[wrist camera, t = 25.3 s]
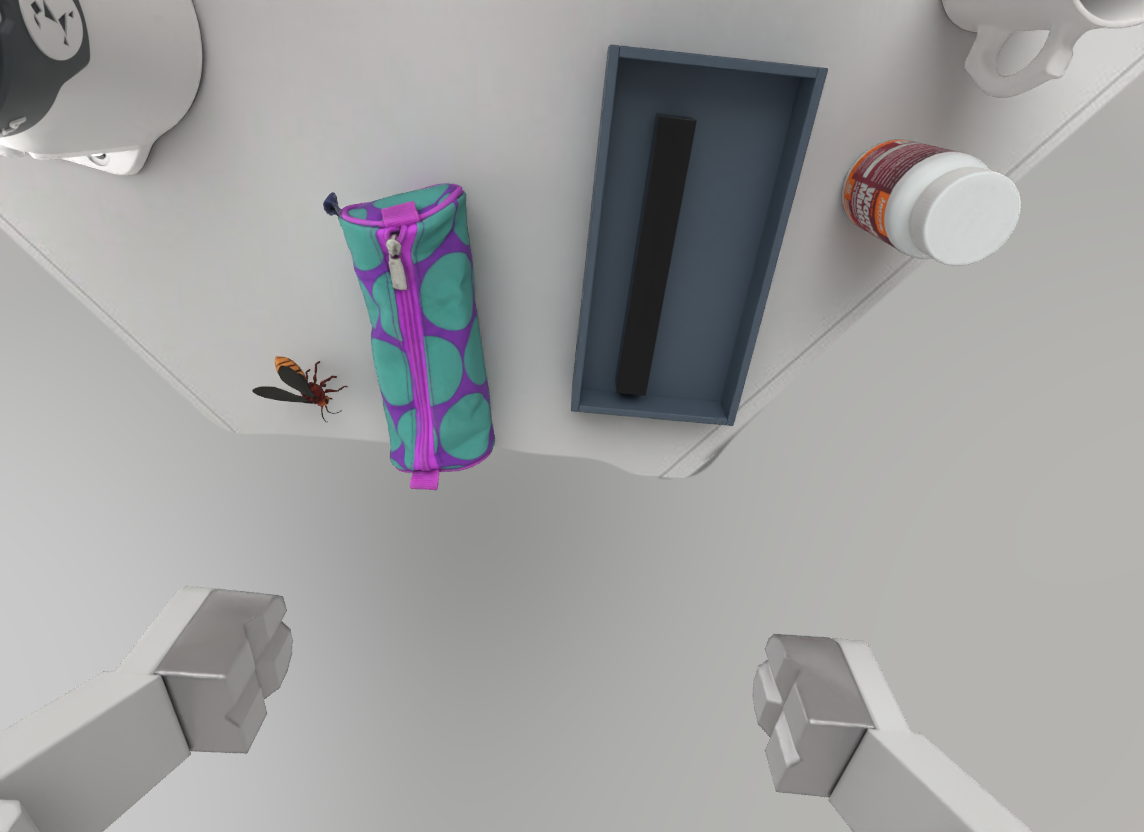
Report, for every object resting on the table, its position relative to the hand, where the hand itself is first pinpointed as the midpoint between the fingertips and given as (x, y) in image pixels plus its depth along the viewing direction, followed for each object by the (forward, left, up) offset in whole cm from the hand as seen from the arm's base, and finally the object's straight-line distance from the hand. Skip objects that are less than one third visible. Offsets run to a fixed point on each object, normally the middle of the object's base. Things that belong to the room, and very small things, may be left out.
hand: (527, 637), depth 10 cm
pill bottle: (+22, +3, -39) cm, 45 cm away
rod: (+6, -4, -38) cm, 39 cm away
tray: (+8, -3, -39) cm, 40 cm away
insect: (-20, -16, -39) cm, 47 cm away
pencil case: (-10, -10, -39) cm, 42 cm away
